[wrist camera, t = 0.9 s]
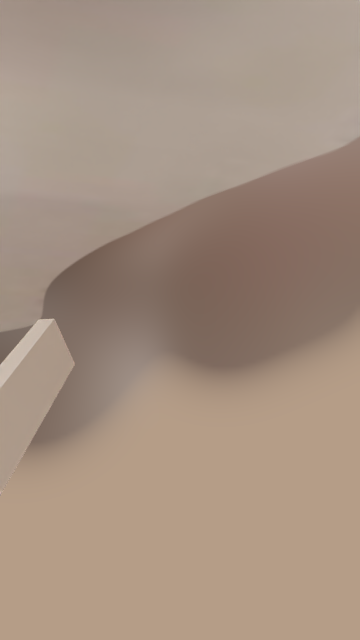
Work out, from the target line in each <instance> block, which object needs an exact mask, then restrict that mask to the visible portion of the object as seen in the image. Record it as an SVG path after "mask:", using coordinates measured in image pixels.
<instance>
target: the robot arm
mask: <svg viewBox="0 0 360 640" xmlns="http://www.w3.org/2000/svg"><path fill="white" fill-rule="evenodd" d="M74 365H75V363H74V361H73V359H72V357H71V354H70V352H69V350H68V348H67V345H66V343H65V341H64V339H63V337H62V334H61V332H60V330H59V328H58V326H57V324H56V322H55V320H54V319H39V320H38V321H37V322H36V323H35V324H34V326H33V327H32V328H31V329H30V330H29V332H28V333H27V334H26V335H25V336H24V337H23V339H22V340H21V341H20V342H19V343H18V345H17V346H16V347H15V348H14V349H13V350H12V352H11V353H10V354H9V355H8V356H7V358H6V359H5V360H4V361H3V362H2V364H1V365H0V495H1V493H2V491H3V490H4V488H5V486H6V484H7V483H8V481H9V479H10V477H11V475H12V474H13V472H14V470H15V468H16V467H17V465H18V463H19V461H20V460H21V458H22V456H23V454H24V453H25V451H26V449H27V447H28V446H29V444H30V442H31V440H32V439H33V437H34V435H35V433H36V432H37V430H38V428H39V426H40V425H41V423H42V421H43V419H44V418H45V416H46V414H47V412H48V411H49V409H50V407H51V405H52V404H53V402H54V400H55V398H56V396H57V395H58V393H59V391H60V389H61V388H62V386H63V384H64V383H65V381H66V379H67V377H68V375H69V373H70V372H71V370H72V369H73V367H74Z"/></svg>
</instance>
